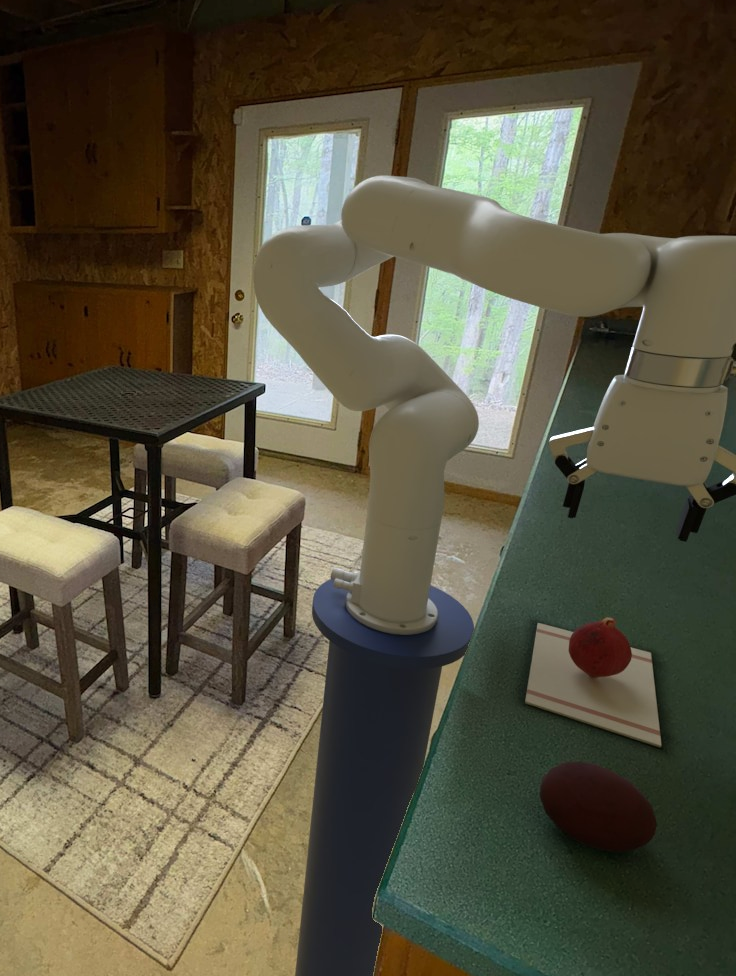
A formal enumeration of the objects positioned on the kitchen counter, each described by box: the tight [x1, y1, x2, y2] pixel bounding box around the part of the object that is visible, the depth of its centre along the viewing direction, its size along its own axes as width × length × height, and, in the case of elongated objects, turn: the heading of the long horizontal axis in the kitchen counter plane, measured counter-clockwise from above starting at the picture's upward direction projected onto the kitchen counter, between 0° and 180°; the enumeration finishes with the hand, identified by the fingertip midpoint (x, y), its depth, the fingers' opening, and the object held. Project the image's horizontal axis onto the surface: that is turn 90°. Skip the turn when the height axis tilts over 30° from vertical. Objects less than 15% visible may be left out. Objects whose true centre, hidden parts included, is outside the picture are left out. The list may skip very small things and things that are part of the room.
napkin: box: [524, 622, 663, 749], centre depth 74 cm, size 12×18×1 cm, turn 145°
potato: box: [539, 761, 658, 853], centre depth 54 cm, size 7×8×6 cm
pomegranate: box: [569, 616, 632, 678], centre depth 72 cm, size 6×6×8 cm
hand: (624, 524), depth 68 cm, fingers open, 9 cm apart
